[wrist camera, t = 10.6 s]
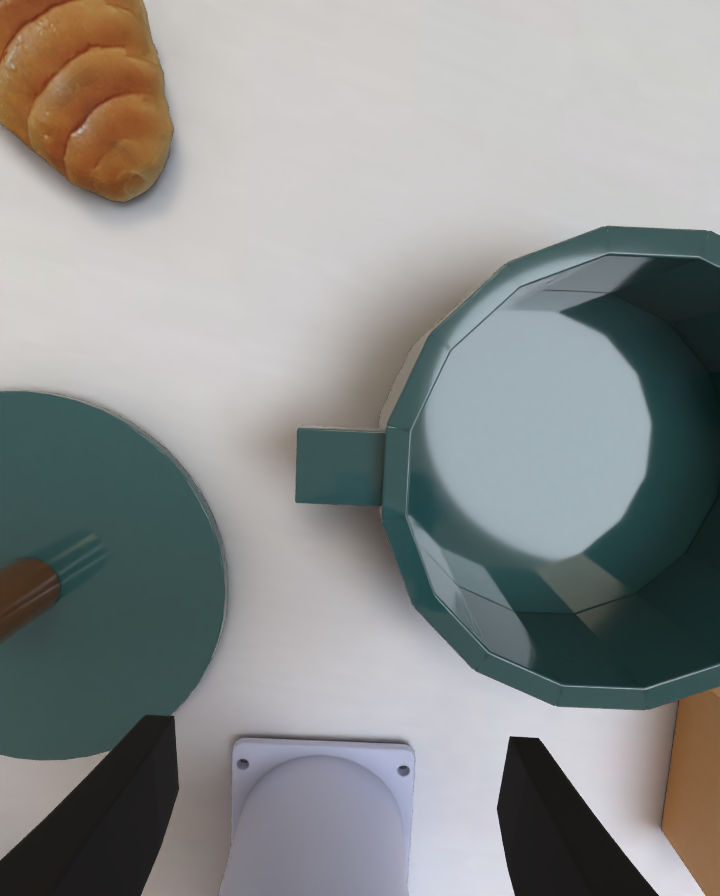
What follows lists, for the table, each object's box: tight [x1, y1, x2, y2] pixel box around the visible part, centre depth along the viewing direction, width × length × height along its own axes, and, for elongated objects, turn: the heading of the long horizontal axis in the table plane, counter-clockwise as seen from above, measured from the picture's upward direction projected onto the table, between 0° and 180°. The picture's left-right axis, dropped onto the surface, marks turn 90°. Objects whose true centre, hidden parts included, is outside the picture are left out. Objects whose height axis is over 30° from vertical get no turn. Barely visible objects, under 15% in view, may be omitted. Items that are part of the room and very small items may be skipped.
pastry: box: [0, 0, 174, 202], centre depth 16 cm, size 9×7×4 cm
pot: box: [295, 226, 720, 710], centre depth 17 cm, size 15×20×6 cm
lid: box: [0, 391, 228, 760], centre depth 18 cm, size 16×16×5 cm
